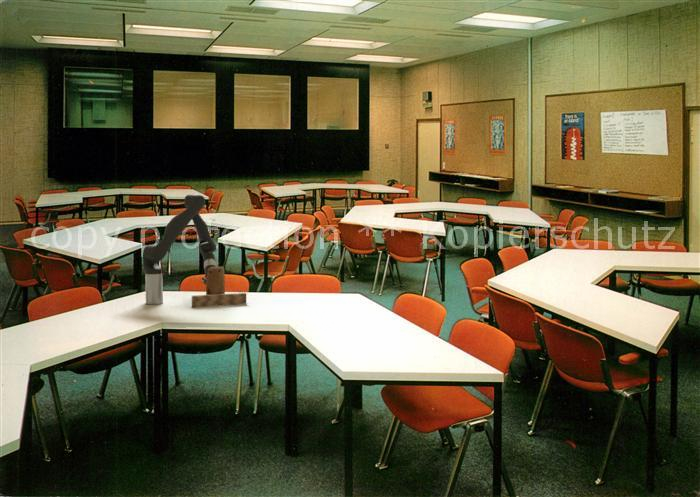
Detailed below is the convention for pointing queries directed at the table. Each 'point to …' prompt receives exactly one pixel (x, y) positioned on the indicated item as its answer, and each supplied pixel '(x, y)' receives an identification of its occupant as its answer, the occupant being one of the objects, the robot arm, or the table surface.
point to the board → (218, 299)
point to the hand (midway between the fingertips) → (213, 290)
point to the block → (215, 281)
